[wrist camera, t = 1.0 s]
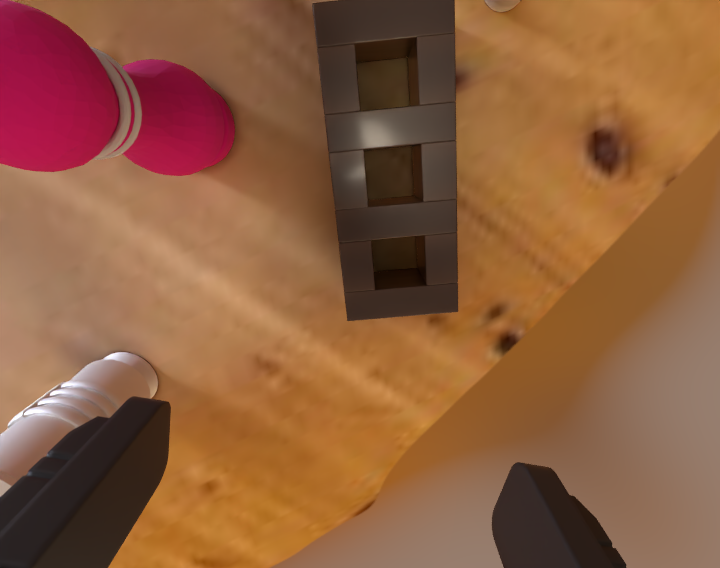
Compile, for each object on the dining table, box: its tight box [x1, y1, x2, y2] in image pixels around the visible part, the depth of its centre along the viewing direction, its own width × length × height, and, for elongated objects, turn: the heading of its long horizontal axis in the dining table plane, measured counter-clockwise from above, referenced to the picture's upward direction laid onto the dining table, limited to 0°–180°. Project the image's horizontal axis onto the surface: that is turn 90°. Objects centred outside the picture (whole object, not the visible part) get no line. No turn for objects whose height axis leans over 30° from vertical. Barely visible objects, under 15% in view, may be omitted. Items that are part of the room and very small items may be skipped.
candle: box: [0, 352, 158, 497], centre depth 30 cm, size 7×7×15 cm
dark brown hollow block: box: [312, 0, 458, 321], centre depth 29 cm, size 21×9×5 cm, turn 5°
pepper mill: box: [0, 0, 235, 176], centre depth 20 cm, size 7×7×20 cm
